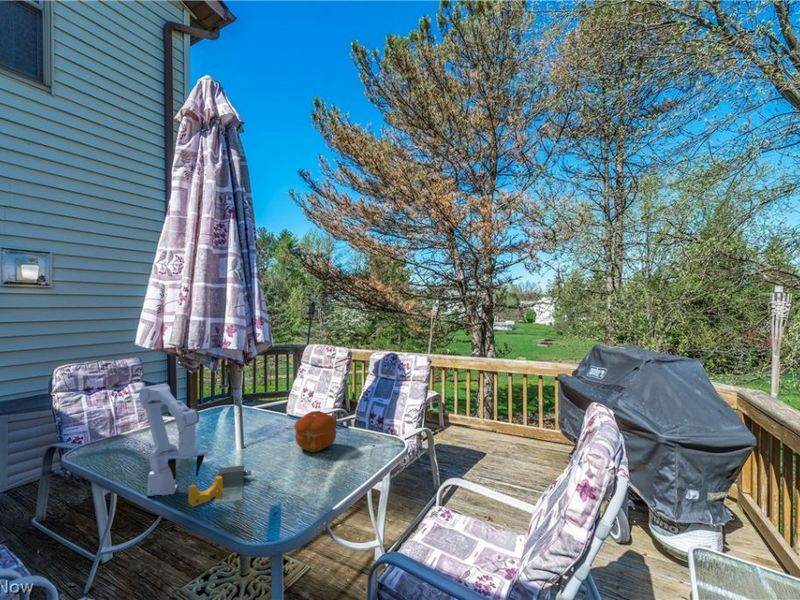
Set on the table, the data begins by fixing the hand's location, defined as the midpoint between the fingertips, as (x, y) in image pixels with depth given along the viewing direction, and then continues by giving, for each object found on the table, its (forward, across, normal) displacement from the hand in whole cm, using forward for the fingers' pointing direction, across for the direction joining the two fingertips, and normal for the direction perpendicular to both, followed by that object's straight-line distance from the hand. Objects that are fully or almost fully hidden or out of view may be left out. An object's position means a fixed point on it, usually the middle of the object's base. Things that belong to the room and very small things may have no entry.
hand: (185, 476), depth 150 cm
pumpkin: (+10, +59, +37) cm, 70 cm away
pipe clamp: (+10, +8, -1) cm, 12 cm away
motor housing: (+9, +18, +4) cm, 20 cm away
